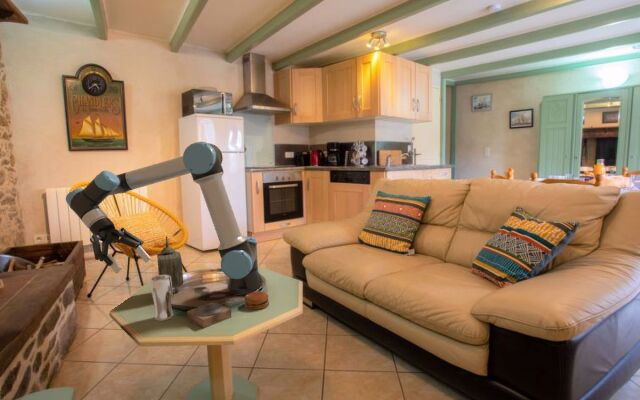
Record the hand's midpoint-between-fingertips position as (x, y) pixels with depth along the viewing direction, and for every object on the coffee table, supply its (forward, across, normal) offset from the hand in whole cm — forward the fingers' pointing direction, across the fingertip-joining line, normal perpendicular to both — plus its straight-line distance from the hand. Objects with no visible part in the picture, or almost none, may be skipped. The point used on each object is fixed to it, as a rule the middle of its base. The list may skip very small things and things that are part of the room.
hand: (134, 265), depth 132 cm
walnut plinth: (+33, -4, +7) cm, 34 cm away
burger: (+41, -18, +15) cm, 47 cm away
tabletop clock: (+12, -21, -15) cm, 28 cm away
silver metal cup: (+21, 0, -5) cm, 22 cm away
